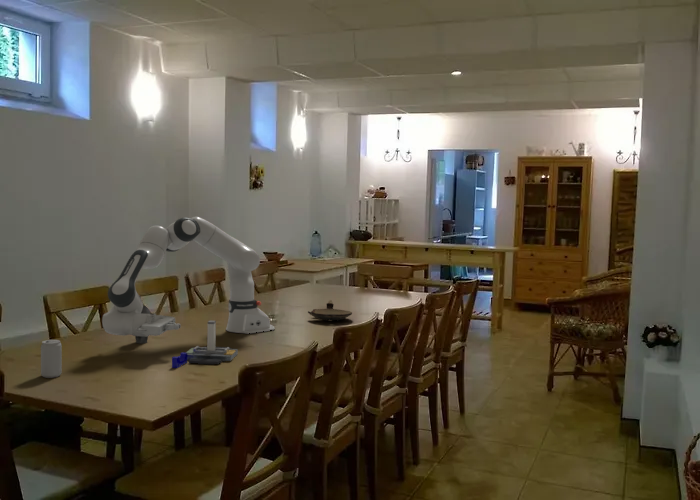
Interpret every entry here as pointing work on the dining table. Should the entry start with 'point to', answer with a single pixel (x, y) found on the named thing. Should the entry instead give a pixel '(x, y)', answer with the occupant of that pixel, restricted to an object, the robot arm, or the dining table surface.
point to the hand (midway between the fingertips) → (179, 326)
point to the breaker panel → (211, 353)
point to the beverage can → (51, 358)
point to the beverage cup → (142, 338)
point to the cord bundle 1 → (218, 347)
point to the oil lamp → (330, 313)
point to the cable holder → (179, 360)
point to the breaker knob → (211, 335)
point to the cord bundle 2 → (205, 361)
